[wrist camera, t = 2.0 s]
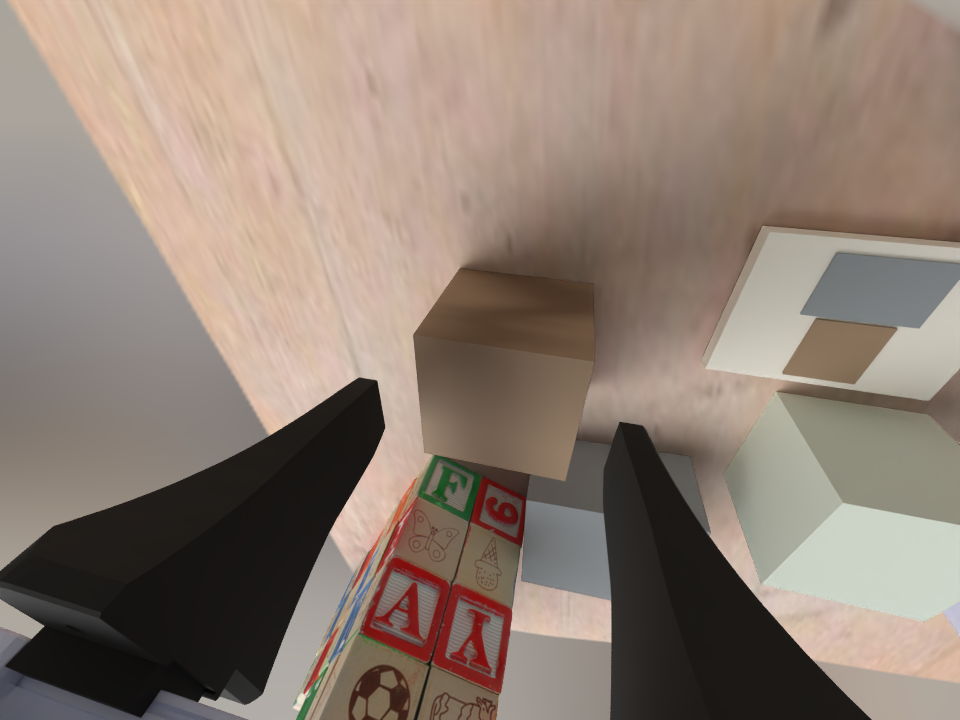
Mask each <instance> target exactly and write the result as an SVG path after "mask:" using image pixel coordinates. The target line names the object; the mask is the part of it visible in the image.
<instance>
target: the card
mask: <svg viewBox="0 0 960 720" xmlns="http://www.w3.org/2000/svg"><path fill="white" fill-rule="evenodd" d="M702 361H703V364H704V366H705V369H711V370H718V371H725V372H732V373H739V374H746V375H753V376H760V377H766V378H773V379H780V380H787V381H794V382H801V383H808V384H815V385H822V386H829V387H835V388H842V389H849V390H856V391H863V392H870V393H877V394H884V395H891V396H897V397H904V398H911V399H918V400H925V401H929V400H930V399H931V398H932V397H933V396H934V395H935V394H936V393H937V392H938V391H939V390H940V389H941V388H942V387H943V386H944V385H945V384H946V383H947V382H948V381H949V380H950V379H951V377H952V376H953V375H954V374H955V373H956V372H957V371H958V370H959V369H960V242H949V241H937V240H925V239H914V238H902V237H890V236H878V235H866V234H855V233H843V232H831V231H819V230H807V229H796V228H784V227H772V226H762V228H761V230H760V232H759V234H758V236H757V239H756V241H755V243H754V245H753V247H752V250H751V252H750V254H749V256H748V258H747V261H746V263H745V265H744V267H743V269H742V272H741V274H740V276H739V278H738V280H737V283H736V285H735V287H734V289H733V291H732V294H731V296H730V298H729V300H728V302H727V305H726V307H725V309H724V311H723V313H722V316H721V318H720V320H719V322H718V324H717V327H716V329H715V331H714V333H713V335H712V338H711V340H710V342H709V344H708V346H707V349H706V351H705V353H704V355H703V357H702Z"/></svg>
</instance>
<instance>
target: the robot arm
mask: <svg viewBox="0 0 960 720" xmlns="http://www.w3.org/2000/svg"><path fill="white" fill-rule="evenodd" d="M384 430H385V422H384V416H383V411H382V405H381V399H380V394H379V388H378V382H377V381H376V380H370V379H365V378H358V379H356V380H354V381H353V382H351V383H350V384H348V385H347V386H345V387H344V388H342V389H341V390H339V391H338V392H337V393H335V394H334V395H332V396H331V397H329V398H328V399H326V400H325V401H323V402H322V403H320V404H319V405H317V406H316V407H314V408H313V409H311V410H310V411H308V412H307V413H305V414H304V415H302V416H301V417H299V418H298V419H296V420H295V421H293V422H291V423H290V424H288V425H287V426H285V427H283V428H282V429H280V430H278V431H277V432H275V433H273V434H272V435H270V436H269V437H267V438H265V439H264V440H262V441H260V442H258V443H257V444H255V445H253V446H251V447H250V448H247V449H246V450H244V451H242V452H240V453H238V454H236V455H234V456H232V457H230V458H228V459H226V460H224V461H222V462H220V463H218V464H216V465H214V466H212V467H209V468H207V469H205V470H203V471H201V472H198V473H196V474H194V475H192V476H190V477H187V478H185V479H183V480H181V481H178V482H176V483H174V484H171V485H169V486H166V487H164V488H161V489H159V490H156V491H154V492H151V493H149V494H146V495H144V496H141V497H138V498H136V499H133V500H130V501H128V502H125V503H122V504H119V505H116V506H114V507H111V508H108V509H105V510H102V511H99V512H96V513H93V514H90V515H87V516H84V517H81V518H78V519H75V520H72V521H69V522H65V523H62V524H59V525H56V526H53V527H52V528H51V529H50V530H48V531H47V532H46V533H45V534H44V535H42V536H41V537H40V538H39V539H38V540H36V541H35V542H34V543H33V544H32V545H31V546H29V548H27V549H26V550H25V551H23V552H22V553H21V554H20V555H19V556H17V557H16V558H15V559H14V560H13V561H11V562H10V563H9V564H8V565H7V566H6V567H4V568H3V569H2V570H1V571H0V599H1V600H3V601H4V602H6V603H8V604H9V605H11V606H13V607H14V608H16V609H18V610H19V611H21V612H23V613H24V614H26V615H28V616H29V617H31V618H33V619H34V620H36V621H38V622H39V623H41V624H42V625H44V628H42V629H41V630H40V631H39V633H37V634H36V635H35V636H34V637H33V638H32V639H30V638H28V637H26V636H23V635H21V634H18V633H16V632H13V631H10V630H7V629H4V628H2V627H0V720H247V719H244V718H242V717H239V716H236V715H233V714H230V713H227V712H224V711H221V710H218V709H216V708H213V707H210V706H207V705H204V704H201V703H198V702H199V700H200V698H201V697H205V698H208V699H211V700H214V701H216V700H217V699H218V698H219V697H223V698H226V699H229V700H232V701H235V702H238V703H241V704H244V705H246V704H249V703H251V702H252V701H254V700H255V699H257V698H258V697H259V696H261V695H262V694H263V692H264V689H265V686H266V683H267V680H268V678H269V675H270V672H271V670H272V667H273V664H274V661H275V659H276V656H277V654H278V651H279V648H280V646H281V643H282V640H283V638H284V635H285V633H286V630H287V628H288V625H289V623H290V620H291V618H292V615H293V613H294V610H295V608H296V605H297V603H298V601H299V598H300V596H301V594H302V591H303V589H304V587H305V584H306V582H307V580H308V578H309V575H310V573H311V571H312V569H313V566H314V564H315V562H316V560H317V558H318V555H319V553H320V551H321V549H322V547H323V545H324V542H325V540H326V538H327V536H328V534H329V532H330V530H331V528H332V527H333V525H334V523H335V521H336V519H337V517H338V516H339V514H340V512H341V511H342V509H343V507H344V506H345V504H346V502H347V501H348V499H349V497H350V495H351V494H352V492H353V490H354V489H355V487H356V485H357V484H358V482H359V480H360V479H361V477H362V475H363V473H364V472H365V470H366V468H367V466H368V465H369V463H370V461H371V459H372V458H373V456H374V454H375V451H376V449H377V447H378V444H379V442H380V440H381V437H382V435H383V432H384ZM603 512H604V523H605V534H606V544H607V554H608V565H609V575H610V586H611V611H612V652H611V653H612V654H611V655H612V657H611V713H610V720H871V719H870V718H869V717H868V716H867V715H866V714H865V713H864V712H863V711H862V710H861V709H860V708H859V707H858V706H857V705H856V704H855V703H854V702H853V701H852V700H851V699H850V698H849V697H848V696H847V695H846V694H845V693H844V692H843V691H842V690H841V689H840V688H839V687H838V686H837V685H836V684H835V683H834V682H833V681H832V680H831V679H830V678H829V677H828V676H827V675H826V674H825V673H824V672H823V671H822V669H820V667H819V666H818V665H817V664H816V663H815V662H814V661H813V660H812V659H811V658H810V657H809V656H808V655H807V654H806V653H805V652H804V651H803V650H802V648H801V647H800V646H799V645H798V644H797V643H796V642H795V641H794V639H793V638H792V637H791V636H790V635H789V634H788V633H787V632H786V630H785V629H784V628H783V627H782V626H781V625H780V624H779V623H778V621H777V620H776V619H775V618H774V617H773V616H772V615H771V614H770V612H769V611H768V610H767V609H766V608H765V607H764V606H763V604H762V603H761V602H760V601H759V600H758V599H757V597H756V596H755V595H754V594H753V593H752V591H751V590H750V589H749V588H748V586H747V585H746V584H745V583H744V582H743V580H742V579H741V578H740V577H739V575H738V574H737V573H736V571H735V570H734V569H733V568H732V566H731V565H730V564H729V562H728V561H727V560H726V558H725V557H724V556H723V555H722V553H721V552H720V550H719V549H718V548H717V546H716V545H715V544H714V542H713V541H712V539H711V538H710V537H709V535H708V534H707V532H706V531H705V529H704V528H703V526H702V525H701V523H700V522H699V520H698V519H697V518H696V516H695V515H694V513H693V511H692V510H691V508H690V507H689V505H688V504H687V502H686V501H685V499H684V497H683V496H682V494H681V492H680V491H679V489H678V487H677V486H676V484H675V482H674V481H673V479H672V477H671V476H670V474H669V472H668V470H667V469H666V467H665V465H664V463H663V462H662V460H661V458H660V456H659V454H658V452H657V451H656V449H655V447H654V445H653V443H652V441H651V439H650V437H649V435H648V433H647V431H646V429H645V428H644V427H643V426H642V425H636V424H630V423H624V422H619V425H618V428H617V431H616V434H615V437H614V440H613V443H612V446H611V449H610V452H609V455H608V458H607V461H606V464H605V466H604V473H603ZM942 612H943V613H944V615H945V616H946V618H947V619H948V621H949V622H950V624H951V625H952V627H953V628H954V630H955V631H956V633H957V634H958V636H959V637H960V602H958V603H957V604H955V605H953V606H951V607H950V608H948V609H946V610H944V611H942Z"/></svg>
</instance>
